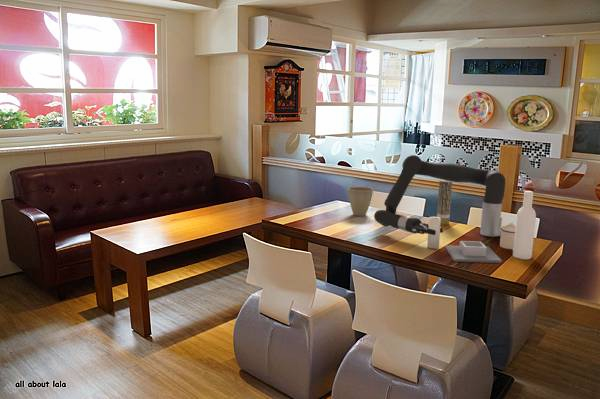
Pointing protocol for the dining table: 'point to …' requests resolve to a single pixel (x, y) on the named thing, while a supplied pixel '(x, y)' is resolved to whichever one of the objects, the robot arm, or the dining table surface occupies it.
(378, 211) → the robot arm
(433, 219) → the paper roll
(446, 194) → the paper tube
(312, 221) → the dining table surface
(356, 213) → the plant pot
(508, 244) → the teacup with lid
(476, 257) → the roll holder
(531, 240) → the bottle
